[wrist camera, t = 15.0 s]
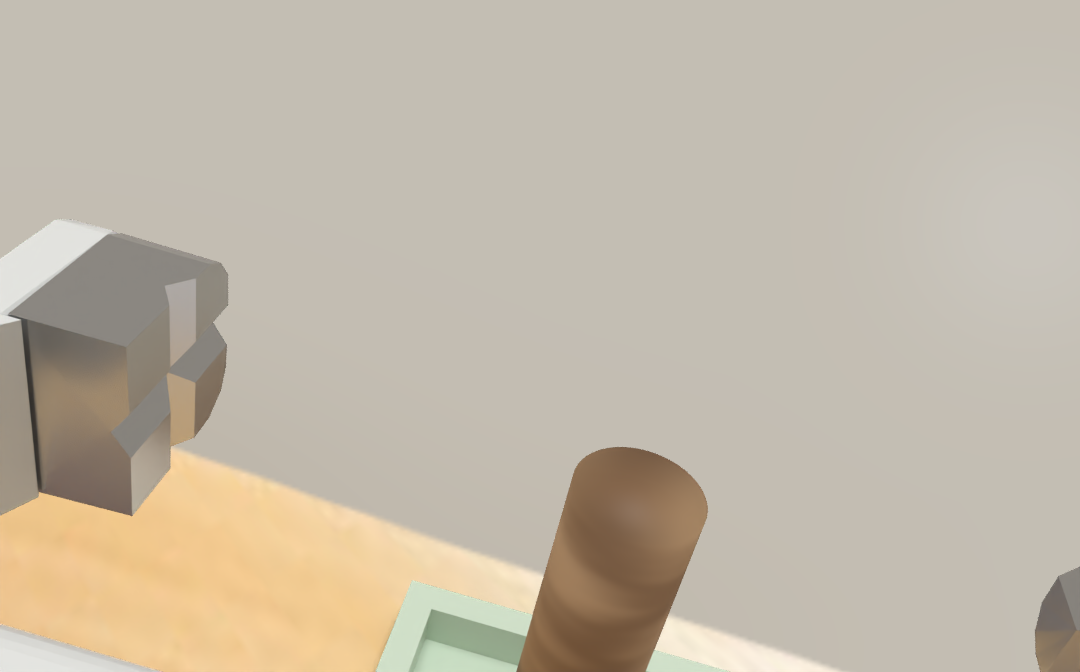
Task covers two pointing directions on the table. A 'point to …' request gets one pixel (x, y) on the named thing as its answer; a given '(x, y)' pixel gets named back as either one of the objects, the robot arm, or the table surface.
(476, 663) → the tray
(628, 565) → the dowel
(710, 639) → the table surface
